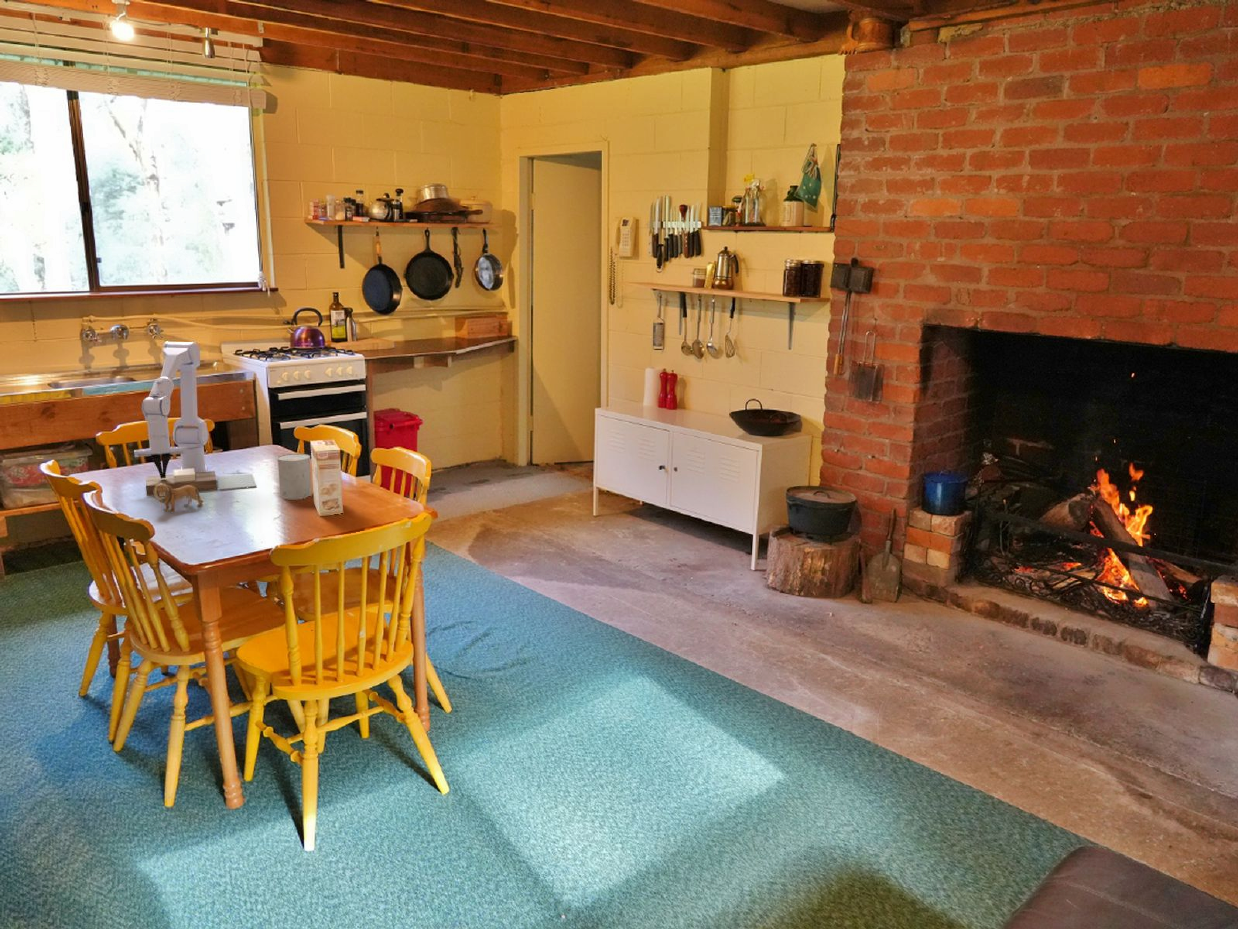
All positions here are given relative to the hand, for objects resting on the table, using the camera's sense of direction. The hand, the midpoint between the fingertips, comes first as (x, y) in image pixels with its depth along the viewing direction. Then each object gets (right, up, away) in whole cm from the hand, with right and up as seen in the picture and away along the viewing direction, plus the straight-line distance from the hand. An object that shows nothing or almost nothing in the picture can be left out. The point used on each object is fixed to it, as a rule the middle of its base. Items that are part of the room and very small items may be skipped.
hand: (163, 477), depth 293 cm
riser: (+5, -3, +3) cm, 6 cm away
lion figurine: (+15, -9, -20) cm, 26 cm away
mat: (+19, -2, +10) cm, 21 cm away
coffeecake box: (+57, -9, -15) cm, 60 cm away
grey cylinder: (+43, -6, -3) cm, 43 cm away
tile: (+6, 0, +3) cm, 6 cm away
